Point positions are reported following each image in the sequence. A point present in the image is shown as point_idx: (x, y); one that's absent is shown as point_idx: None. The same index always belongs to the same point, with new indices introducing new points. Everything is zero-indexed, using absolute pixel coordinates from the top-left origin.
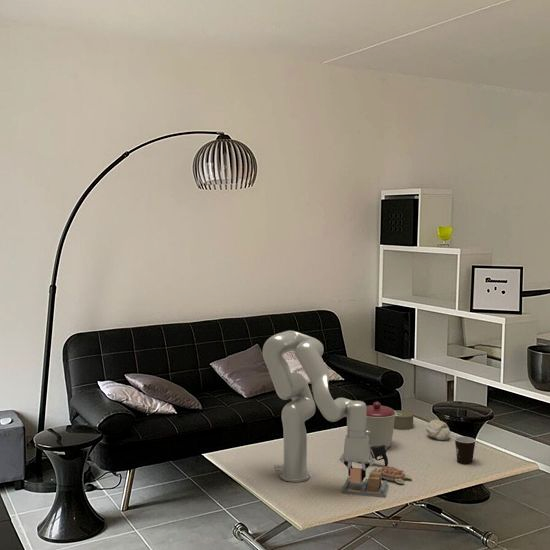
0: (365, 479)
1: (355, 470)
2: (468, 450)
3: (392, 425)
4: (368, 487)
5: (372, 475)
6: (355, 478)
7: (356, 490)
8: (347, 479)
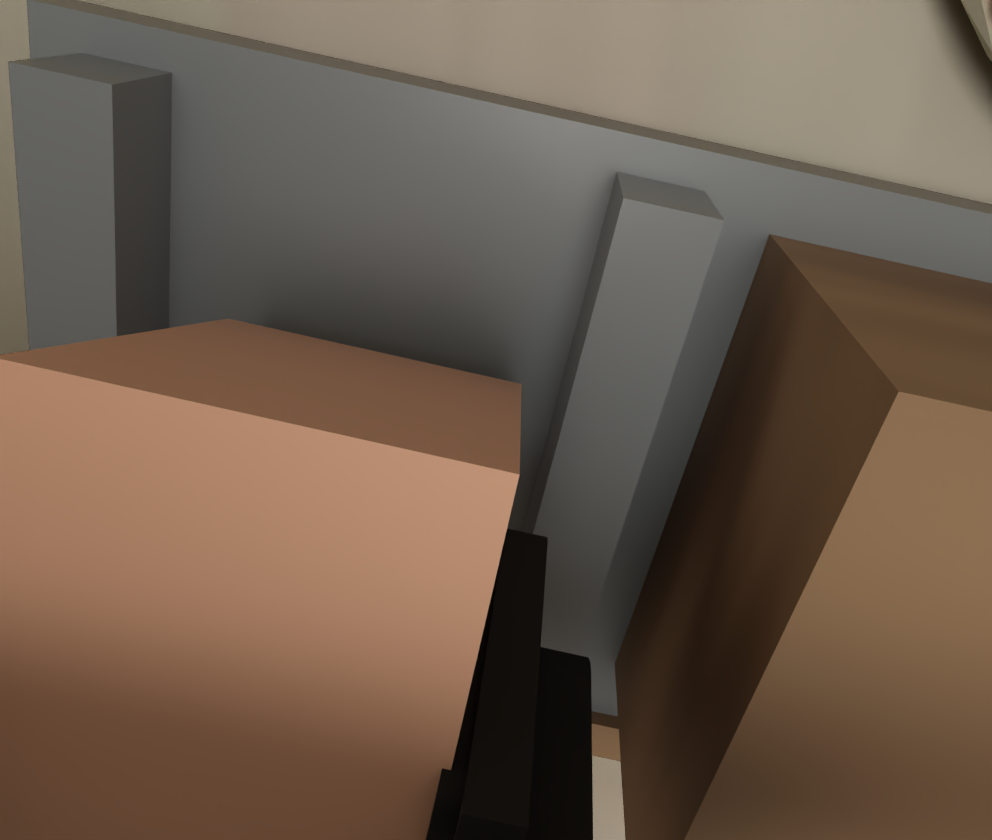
0: (604, 276)
1: None
2: None
3: None
4: (626, 726)
5: (826, 779)
6: None
7: None
8: (49, 299)
